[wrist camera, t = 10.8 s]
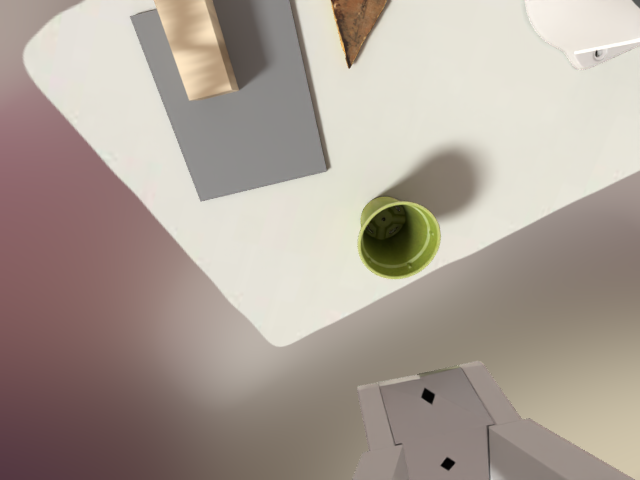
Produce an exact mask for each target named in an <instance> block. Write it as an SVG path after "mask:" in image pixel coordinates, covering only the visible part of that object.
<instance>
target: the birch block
mask: <svg viewBox="0 0 640 480" xmlns="http://www.w3.org/2000/svg"><path fill="white" fill-rule="evenodd" d="M154 2H155V5H156V8H157V11H158V14H159V16H160V19H161V22H162V25H163V28H164V31H165V33H166V36H167V39H168V42H169V45H170V47H171V50H172V53H173V56H174V59H175V62H176V64H177V67H178V70H179V73H180V76H181V79H182V81H183V84H184V87H185V90H186V93H187V96H188V98H189V101H192V100H204V99H208V98H212V97H216V96H220V95H224V94H228V93H232V92H236V91H239V88H238V85H237V82H236V78H235V75H234V71H233V68H232V65H231V61H230V58H229V55H228V51H227V48H226V44H225V41H224V38H223V34H222V31H221V27H220V24H219V21H218V17H217V14H216V11H215V7H214V4H213V0H154Z"/></svg>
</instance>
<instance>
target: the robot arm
mask: <svg viewBox="0 0 640 480" xmlns="http://www.w3.org/2000/svg"><path fill="white" fill-rule="evenodd" d="M525 7H526V11H527V15H528V18H529V20H530V23H531V25H532V26H533V28H534V30H535V31H536V33H537V34H538V35H539V36H540V37H541V38H542V39H543V40H544V41H545V42H547V43H548V44H550V45H552V46H554V47H556V48H558V49H560V50H561V51H563V52H564V53H565V55H566V56H567V58H568V60H569V61H570V63H571V64H572V65H573V67H574V68H576V69H577V70H584V69H588V68H591V67H594V66H596V65H598V64H600V63H603V62H605V61H607V60H609V59H611V58H614V57H616V56H618V55H620V54H622V53H625V52H627V51H629V50H631V49H634V48H636V47H638V46H640V0H525ZM596 50H597V55H596V56H595V52H596ZM357 388H358V396H359V402H360V407H361V412H362V417H363V422H364V427H365V432H366V437H367V443H368V447H369V451H367V452H363V453H362V456H361V458H360V460H359V463H358V465H357V468H356V470H355V473H354V475H353V478H352V480H635V479H633V478H631V477H630V476H628V475H626V474H624V473H623V472H621V471H619V470H618V469H616V468H614V467H612V466H611V465H609V464H607V463H605V462H604V461H602V460H600V459H599V458H597V457H595V456H593V455H592V454H590V453H588V452H586V451H585V450H583V449H581V448H580V447H578V446H576V445H574V444H572V443H571V442H569V441H567V440H566V439H564V438H562V437H560V436H559V435H557V434H555V433H554V432H552V431H550V430H549V429H547V428H545V427H543V426H542V425H540V424H538V423H536V422H535V421H533V420H531V419H530V418H528V419H521V417H520V416H519V414H518V413H517V411H516V410H515V408H514V407H513V406H512V404H511V403H510V401H509V400H508V399H507V397H506V396H505V394H504V393H503V391H502V390H501V388H500V387H499V386H498V384H497V383H496V381H495V380H494V378H493V377H492V375H491V374H490V373H489V371H488V370H487V368H486V367H485V365H484V364H483V363H482V362H480V361H475V362H470V363H466V364H461V365H458V366H452V367H448V368H443V369H438V370H434V371H429V372H425V373H421V374H417V375H413V376H408V377H402V378H397V379H392V380H387V381H381V382H378V383H372V384H367V385H362V386H358V387H357Z"/></svg>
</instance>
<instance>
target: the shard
mask: <svg viewBox="0 0 640 480" xmlns="http://www.w3.org/2000/svg"><path fill="white" fill-rule="evenodd" d="M386 2H387V0H331V4H332V9H333V13H334V19H335V21H336V26H337V29H338V33H339V37H340V41H341V45H342V48H343V51H344V52H345V56H346V62H347V66H348V68H349V69H350V67H351V65H352V64H353V62H354V60H355V58H356V56H357V54H358V52H359V50H360V47H361V45H362V44H363V42H364V40H365V38H366V36H367V35H368V33H369V32H370V30H371V29H372V28H373V26H374V24H375V22H376V20H377V18H378V16H379V15H380V13H381V12H382V10H383V8H384V6H385V3H386Z"/></svg>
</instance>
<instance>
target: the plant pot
mask: <svg viewBox="0 0 640 480" xmlns="http://www.w3.org/2000/svg"><path fill="white" fill-rule="evenodd" d="M395 205H397V206H398V207H399V208H400V211H398V210H397V208H396V207H395ZM383 217H384V218H385V221H382V218H383ZM367 226H369V228H370V229H371V230H372V231H373V232H374V233H371V232H370V231H369V230H368V229H367ZM396 227H397V229H396V230H395V231H394V232H393V233H389V232H390V231H391V230H393V229H394V228H396ZM440 240H441V234H440V227H439V224H438V222H437V220H436V218H435V217H434V215H433V214H432V213H431V212H430V211H429V210H428V209H426V208H425V207H423V206H422V205H419V204H417V203H414V202H409V201H399V200H397V199H395V198H392V197H378V198H375V199H373V200H372V201H370V202H369V203H368V204H367V205H366V206H365V208H364V209H363V211H362V215H361V230H360V233H359V236H358V252H359V256H360V258H361V261H362V262H363V264H364V265H365V266H366V267H367V268H368V269H369V270H370V271H371V272H372V273H374V274H376V275H378V276H380V277H383V278H388V279H402V278H407V277H410V276H412V275H415V274H417V273H418V272H420V271H422V270H423V269H424V268H425V267H426V266H427V265H429V263H430V262H431V261H432V260H433V258H434V257H435V255H436V253H437V251H438V249H439V245H440Z"/></svg>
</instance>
